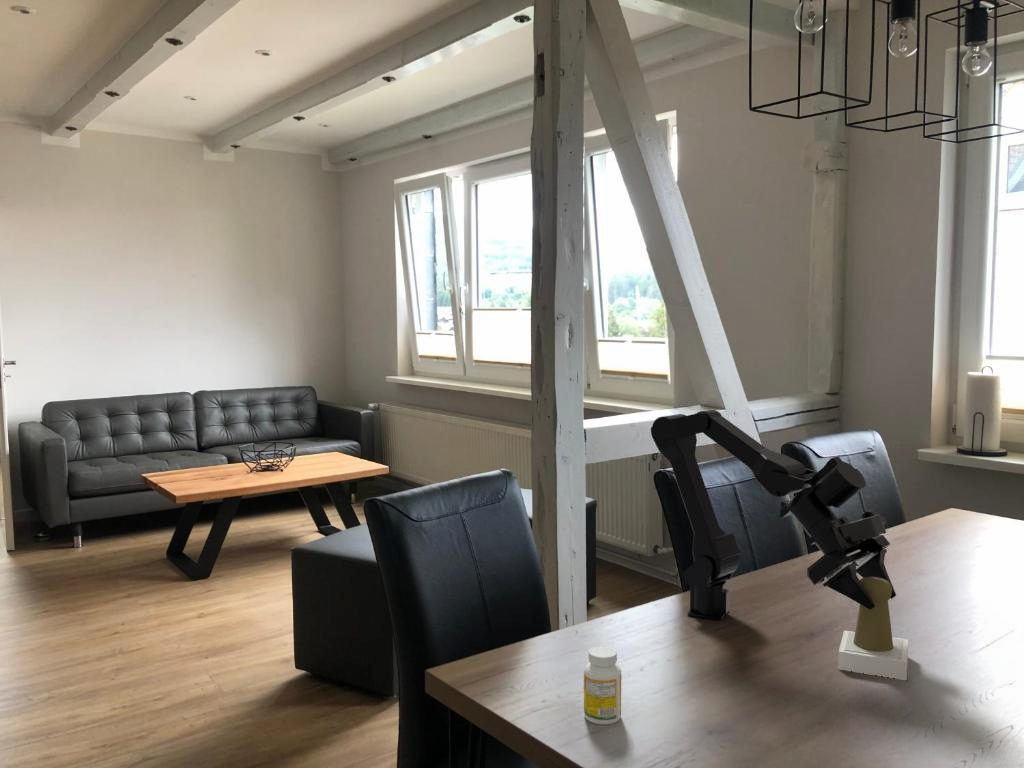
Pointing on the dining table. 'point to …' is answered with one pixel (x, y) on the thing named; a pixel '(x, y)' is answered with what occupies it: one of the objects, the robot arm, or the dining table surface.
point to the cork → (875, 617)
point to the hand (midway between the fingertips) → (883, 602)
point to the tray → (874, 658)
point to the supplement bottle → (602, 687)
